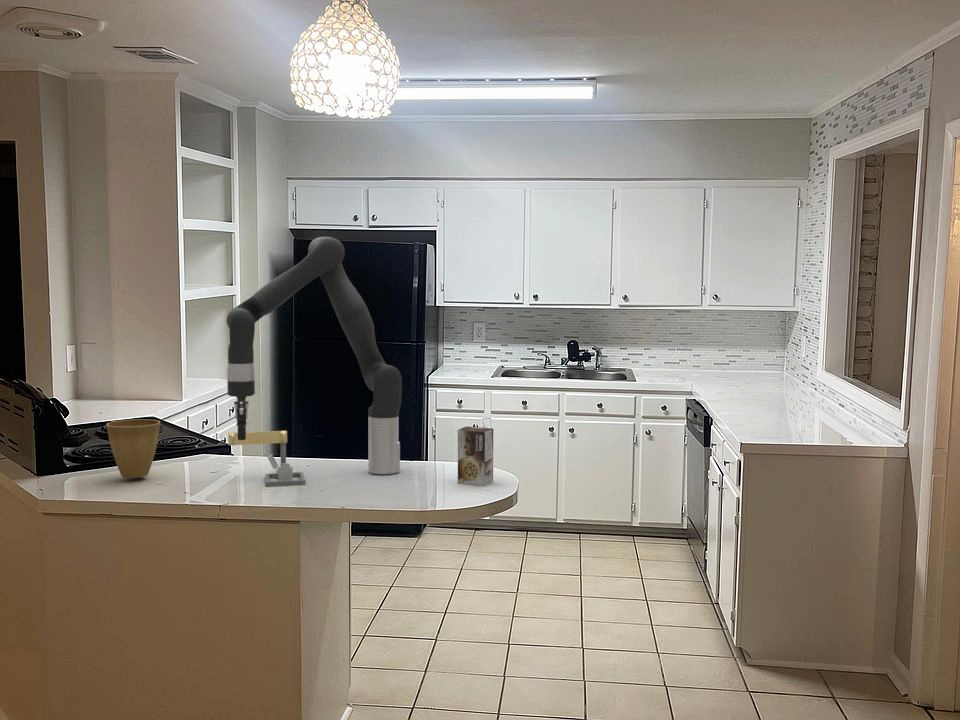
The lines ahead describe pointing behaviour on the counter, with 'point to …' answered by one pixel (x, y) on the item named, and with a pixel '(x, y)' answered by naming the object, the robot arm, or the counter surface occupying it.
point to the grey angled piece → (282, 469)
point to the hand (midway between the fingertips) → (241, 438)
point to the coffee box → (475, 456)
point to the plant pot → (133, 445)
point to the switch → (275, 475)
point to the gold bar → (258, 438)
